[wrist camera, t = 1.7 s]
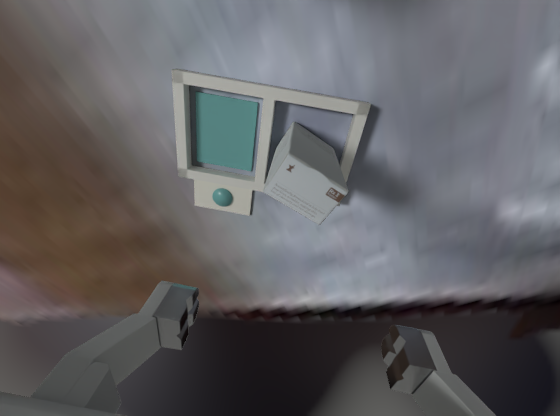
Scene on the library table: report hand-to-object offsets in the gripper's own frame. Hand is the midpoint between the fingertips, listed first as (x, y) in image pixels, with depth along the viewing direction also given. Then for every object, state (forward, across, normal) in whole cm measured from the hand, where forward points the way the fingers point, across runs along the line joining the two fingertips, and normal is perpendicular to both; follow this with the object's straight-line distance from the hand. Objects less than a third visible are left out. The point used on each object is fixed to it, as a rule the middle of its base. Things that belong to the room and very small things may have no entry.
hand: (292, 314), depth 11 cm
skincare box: (+24, 0, 0) cm, 24 cm away
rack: (+24, +5, +3) cm, 24 cm away
